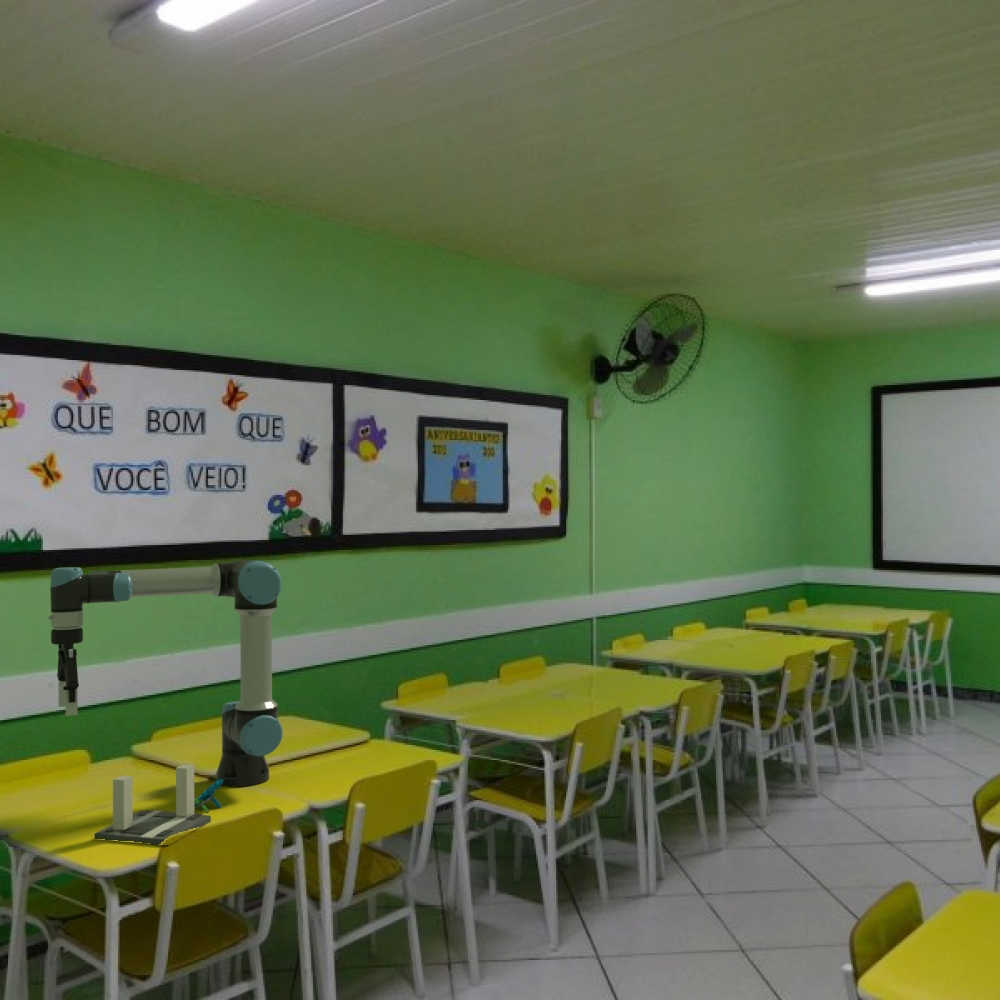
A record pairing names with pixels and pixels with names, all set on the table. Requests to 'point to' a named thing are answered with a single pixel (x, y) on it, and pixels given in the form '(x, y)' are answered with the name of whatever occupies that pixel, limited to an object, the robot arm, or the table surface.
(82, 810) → the table surface
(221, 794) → the table surface
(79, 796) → the table surface
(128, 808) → the tab
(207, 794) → the blue green branched piece
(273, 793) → the table surface
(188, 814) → the two post plate
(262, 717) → the robot arm
